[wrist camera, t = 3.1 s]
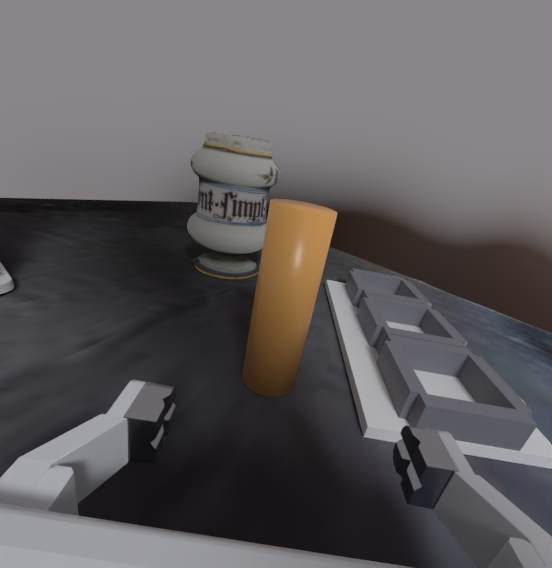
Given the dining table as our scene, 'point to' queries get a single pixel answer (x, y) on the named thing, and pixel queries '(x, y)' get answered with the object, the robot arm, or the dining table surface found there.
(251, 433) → the dining table surface
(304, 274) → the orange rounded cylinder
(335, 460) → the dining table surface
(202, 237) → the apothecary jar
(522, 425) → the board
